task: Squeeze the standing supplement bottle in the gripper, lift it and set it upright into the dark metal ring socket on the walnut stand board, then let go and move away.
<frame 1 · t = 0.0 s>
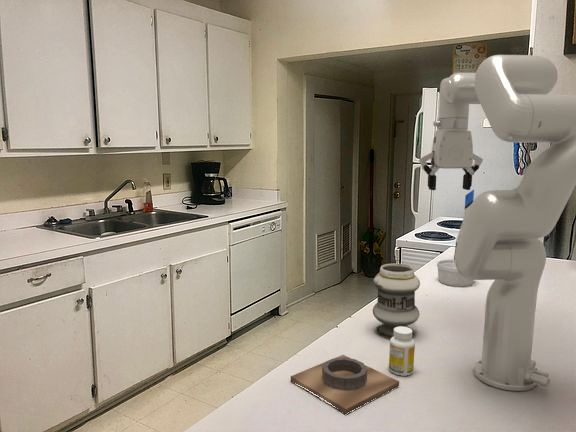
hand: (449, 189, 128), 37 cm above the counter, tool pointing down, fingers open, 9 cm apart
stand board: (344, 384, 99), on the counter
ramekin: (455, 283, 170), on the counter
supplement bottle: (401, 371, 105), on the counter
apothecary jar: (394, 333, 126), on the counter
protein powder: (465, 265, 194), on the counter
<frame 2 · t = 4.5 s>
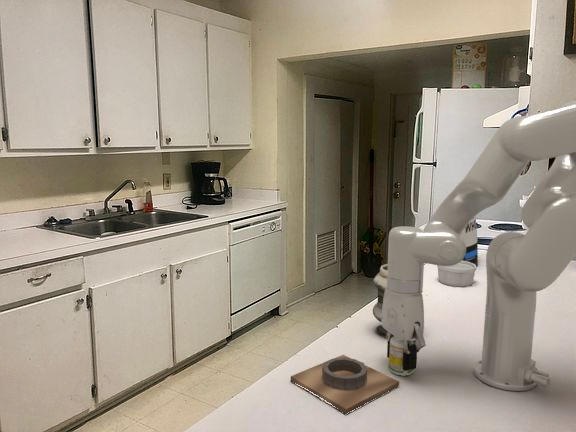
hand: (401, 362, 105), 2 cm above the counter, tool pointing down, fingers closed on supplement bottle, 5 cm apart
supplement bottle: (401, 371, 105), on the counter, touching gripper
everything else where it was.
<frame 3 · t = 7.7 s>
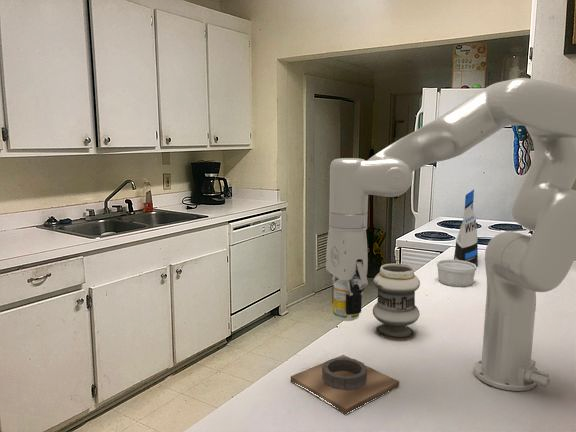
hand: (346, 307, 96), 17 cm above the counter, tool pointing down, fingers closed on supplement bottle, 5 cm apart
supplement bottle: (346, 317, 97), point 15 cm above the counter, touching gripper
everything else where it was.
when the fingers open (4 cm above the counter, at t = 10.9 s): supplement bottle stays where it is, resting on stand board.
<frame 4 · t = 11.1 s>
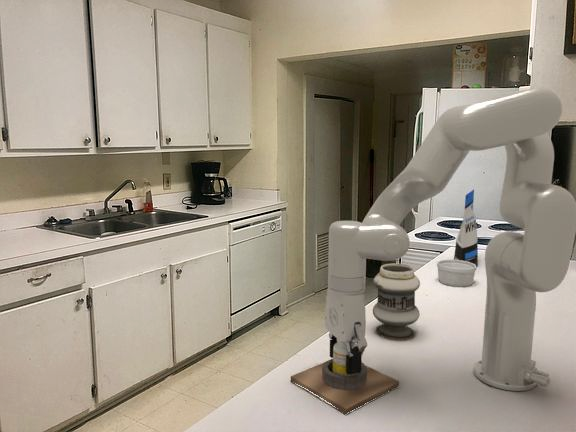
hand: (344, 363, 98), 5 cm above the counter, tool pointing down, fingers open, 7 cm apart
supplement bottle: (345, 379, 99), point 1 cm above the counter, touching stand board
everything else where it was.
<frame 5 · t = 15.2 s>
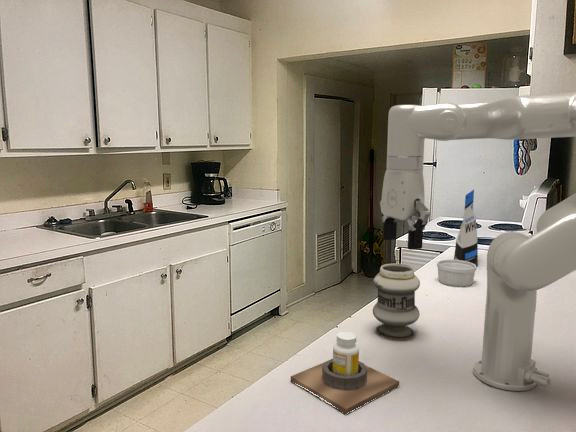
hand: (401, 244, 103), 28 cm above the counter, tool pointing down, fingers open, 9 cm apart
nothing on the counter moved.
at the end: supplement bottle 0.1 cm off-centre on the stand board, point 1.0 cm above the stand board's base; supplement bottle tilted 0°; the gripper is holding nothing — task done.
